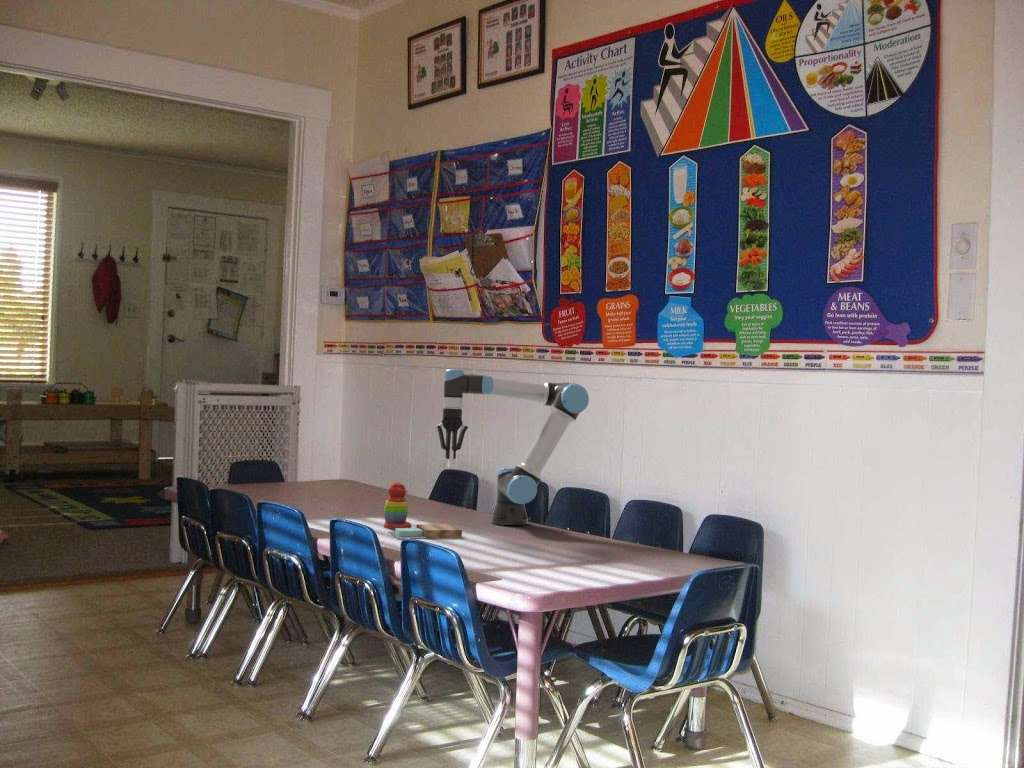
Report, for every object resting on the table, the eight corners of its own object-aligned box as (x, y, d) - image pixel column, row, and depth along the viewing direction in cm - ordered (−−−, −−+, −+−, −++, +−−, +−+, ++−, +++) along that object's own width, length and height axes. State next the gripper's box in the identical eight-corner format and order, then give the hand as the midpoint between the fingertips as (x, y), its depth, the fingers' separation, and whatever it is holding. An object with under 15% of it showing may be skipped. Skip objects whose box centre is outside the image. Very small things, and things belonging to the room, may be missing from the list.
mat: (415, 531, 427) (415, 531, 427) (426, 538, 412) (426, 538, 412) (387, 532, 423) (387, 531, 423) (398, 539, 408) (398, 538, 408)
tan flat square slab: (450, 531, 431) (451, 524, 430) (461, 537, 417) (462, 529, 417) (416, 532, 426) (416, 524, 426) (426, 538, 413) (426, 530, 413)
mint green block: (418, 533, 422) (418, 527, 422) (422, 535, 416) (422, 530, 416) (395, 533, 419) (395, 528, 419) (399, 536, 413) (399, 530, 413)
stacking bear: (404, 530, 429) (406, 484, 429) (379, 528, 431) (381, 483, 431) (412, 526, 440) (414, 482, 439) (388, 524, 442) (389, 480, 441)
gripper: (465, 407, 443) (462, 466, 444) (434, 407, 438) (431, 466, 439) (471, 409, 436) (468, 468, 437) (439, 408, 431) (437, 468, 432)
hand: (450, 467), depth 438 cm, fingers closed
